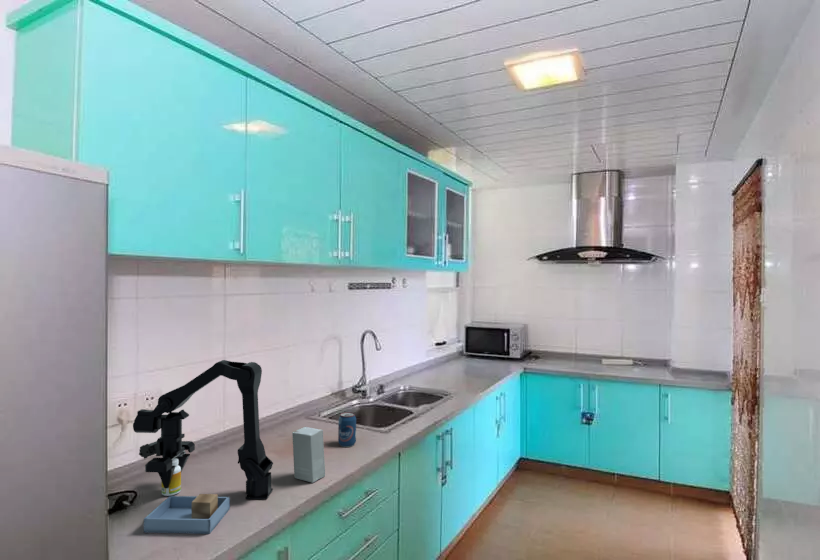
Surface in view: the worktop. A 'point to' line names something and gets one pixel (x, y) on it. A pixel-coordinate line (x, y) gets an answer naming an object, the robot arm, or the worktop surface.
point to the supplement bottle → (173, 481)
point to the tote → (183, 516)
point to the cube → (204, 506)
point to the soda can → (347, 429)
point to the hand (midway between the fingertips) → (171, 483)
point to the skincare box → (308, 454)
